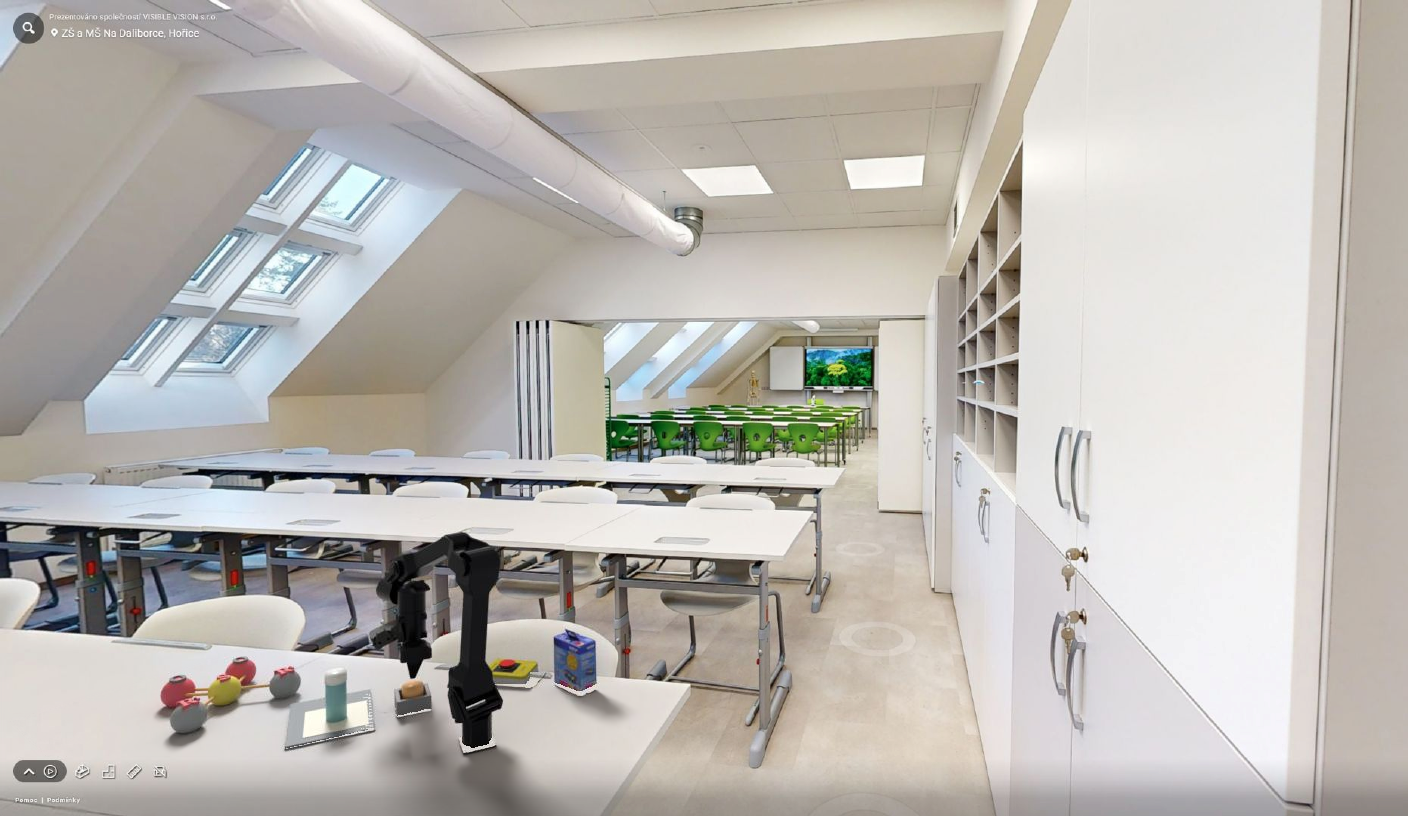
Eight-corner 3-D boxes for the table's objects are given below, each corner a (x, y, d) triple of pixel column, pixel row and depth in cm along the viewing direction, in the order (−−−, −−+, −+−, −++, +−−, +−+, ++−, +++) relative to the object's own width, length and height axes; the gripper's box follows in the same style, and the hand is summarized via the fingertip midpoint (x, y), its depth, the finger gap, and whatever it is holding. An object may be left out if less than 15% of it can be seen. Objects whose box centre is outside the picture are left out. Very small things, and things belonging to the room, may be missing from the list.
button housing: (431, 711, 151) (431, 695, 151) (396, 718, 148) (396, 702, 147) (427, 697, 157) (427, 682, 157) (394, 704, 154) (394, 689, 154)
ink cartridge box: (552, 686, 164) (552, 626, 163) (570, 678, 168) (570, 620, 167) (579, 698, 157) (579, 636, 157) (597, 690, 162) (597, 630, 161)
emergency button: (491, 652, 173) (547, 656, 171) (491, 669, 174) (547, 674, 171) (473, 668, 164) (532, 672, 162) (473, 686, 164) (532, 690, 162)
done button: (424, 700, 151) (424, 686, 151) (402, 704, 149) (402, 690, 149) (422, 691, 155) (422, 679, 155) (401, 696, 153) (401, 682, 153)
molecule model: (177, 742, 138) (176, 711, 138) (138, 713, 150) (137, 684, 149) (306, 695, 159) (305, 668, 158) (263, 672, 170) (262, 647, 170)
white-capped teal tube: (341, 722, 144) (340, 676, 144) (321, 722, 144) (320, 676, 143) (351, 713, 148) (350, 667, 148) (331, 713, 148) (330, 667, 148)
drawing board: (374, 730, 142) (374, 727, 142) (284, 749, 135) (284, 746, 135) (370, 691, 160) (370, 688, 160) (290, 706, 152) (290, 703, 152)
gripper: (369, 601, 156) (370, 669, 156) (373, 628, 139) (374, 703, 140) (422, 594, 161) (423, 660, 162) (431, 619, 145) (432, 692, 145)
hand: (412, 677), depth 152 cm, fingers closed
